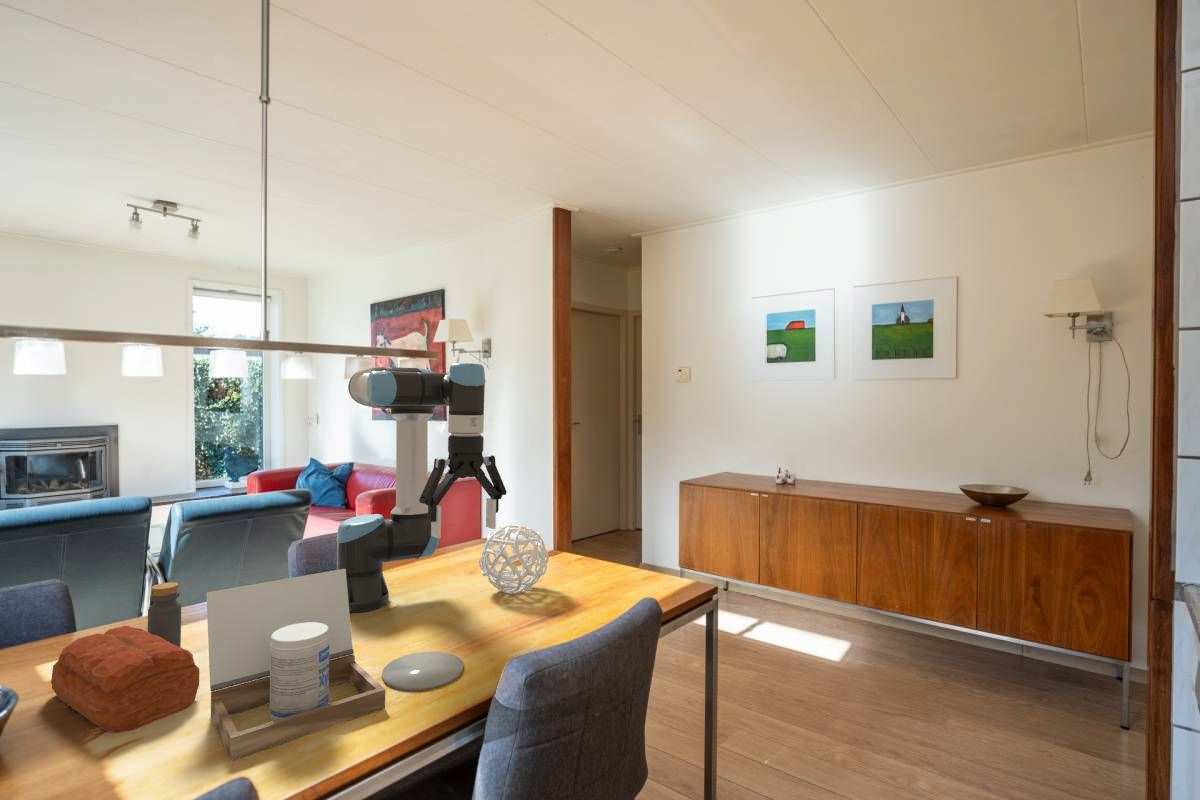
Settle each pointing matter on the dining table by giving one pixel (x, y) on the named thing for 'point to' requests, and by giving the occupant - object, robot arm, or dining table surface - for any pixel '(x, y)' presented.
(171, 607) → the bottle
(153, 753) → the dining table surface
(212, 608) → the lid
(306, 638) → the supplement tub
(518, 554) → the decorative ball
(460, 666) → the saucer
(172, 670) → the bread
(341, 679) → the tray
